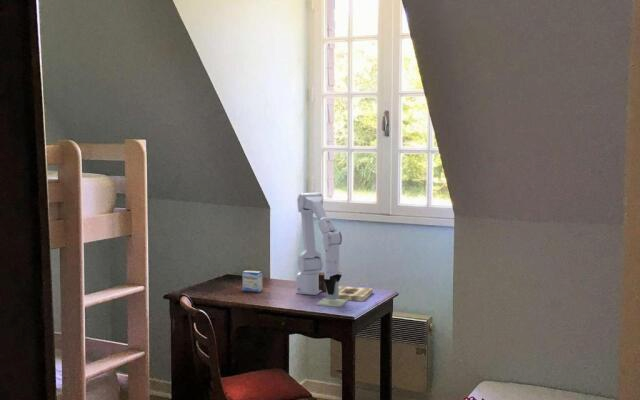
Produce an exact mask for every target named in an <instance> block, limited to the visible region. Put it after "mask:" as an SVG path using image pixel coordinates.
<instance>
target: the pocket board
mask: <svg viewBox="0 0 640 400" xmlns="http://www.w3.org/2000/svg"><path fill="white" fill-rule="evenodd" d="M373 291H374V290H373V288H370V287H369V288H368V287H355V286H343V285H342V286H341V285H339V298H338V299H348V301H352V302H353V301H354V302H364V301H365V300H367V298H369V297H370V296H372V294H374V293H373Z"/></svg>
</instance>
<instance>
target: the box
mask: <svg viewBox="0 0 640 400" xmlns="http://www.w3.org/2000/svg"><path fill="white" fill-rule="evenodd" d="M324 274H325V271H323V272H322V271H320V273H319V290H322V291H321V292H325V291H326V284H325V282H324V280H323V277H324Z"/></svg>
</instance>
